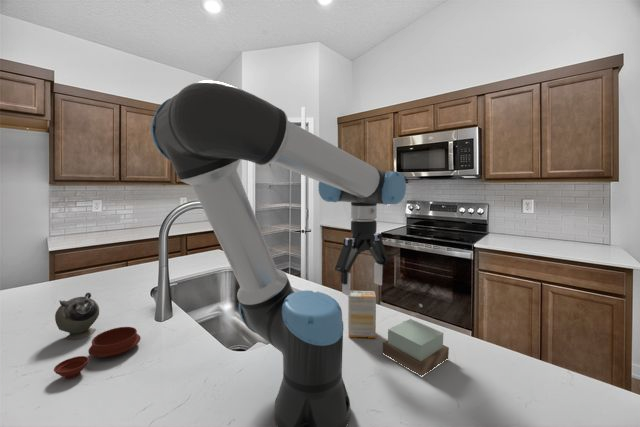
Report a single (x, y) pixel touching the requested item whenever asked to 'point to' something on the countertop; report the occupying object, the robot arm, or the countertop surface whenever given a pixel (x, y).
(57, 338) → the countertop surface
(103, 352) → the pottery
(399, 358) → the tower base block
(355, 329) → the supplement box
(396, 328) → the tower top block
